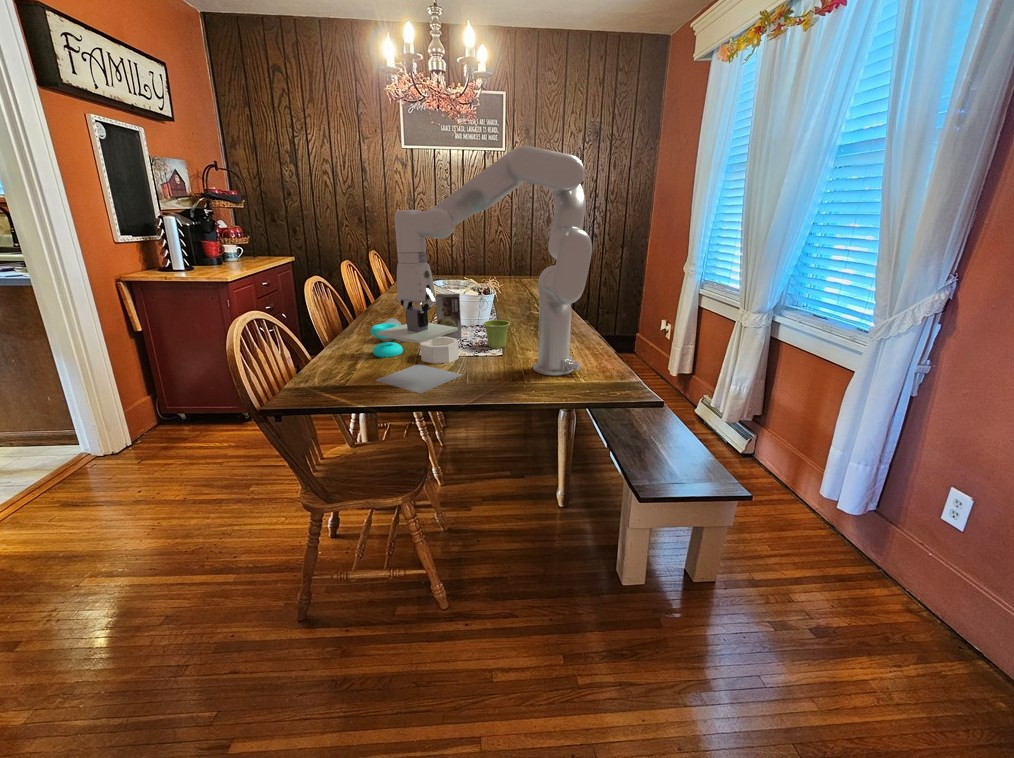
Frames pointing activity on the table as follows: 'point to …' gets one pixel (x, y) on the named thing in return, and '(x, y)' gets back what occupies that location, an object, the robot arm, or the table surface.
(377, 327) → the donuts
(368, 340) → the table surface
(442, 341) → the bowl
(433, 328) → the lid
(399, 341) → the ceramic mug
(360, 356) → the table surface
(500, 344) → the plant pot
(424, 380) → the mat
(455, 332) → the coffee box
